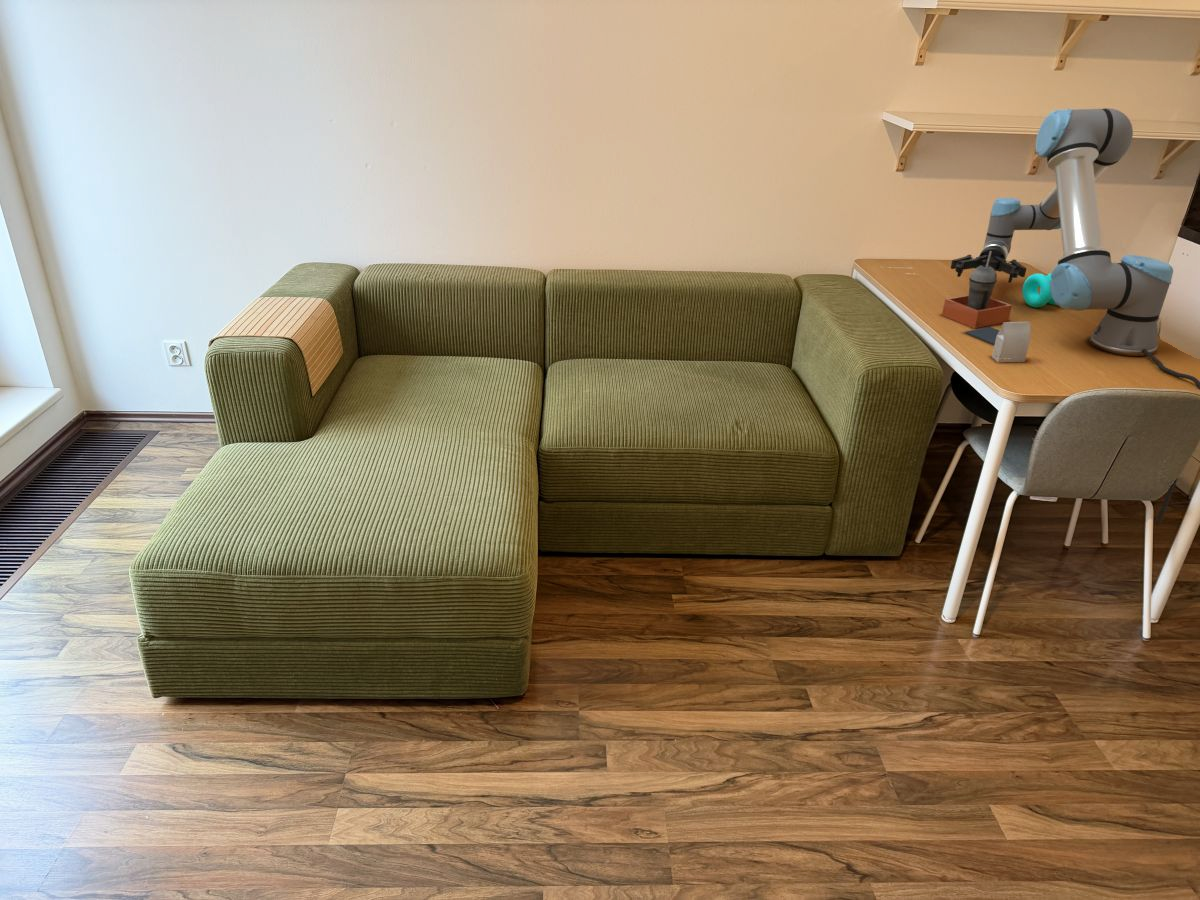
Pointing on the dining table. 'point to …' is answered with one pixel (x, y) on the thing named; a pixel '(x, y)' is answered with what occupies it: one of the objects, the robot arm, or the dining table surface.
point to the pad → (985, 334)
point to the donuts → (1032, 293)
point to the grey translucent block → (1012, 342)
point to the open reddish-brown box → (976, 312)
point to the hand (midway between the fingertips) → (984, 275)
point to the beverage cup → (981, 286)
